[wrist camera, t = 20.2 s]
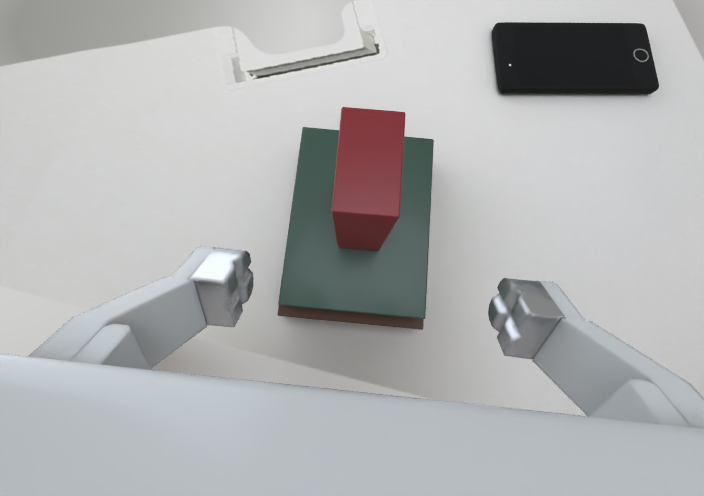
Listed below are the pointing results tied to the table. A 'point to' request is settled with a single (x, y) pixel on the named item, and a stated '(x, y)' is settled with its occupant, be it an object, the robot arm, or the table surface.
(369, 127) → the upright red rectangular block
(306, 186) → the book pile
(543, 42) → the cell phone
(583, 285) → the table surface
